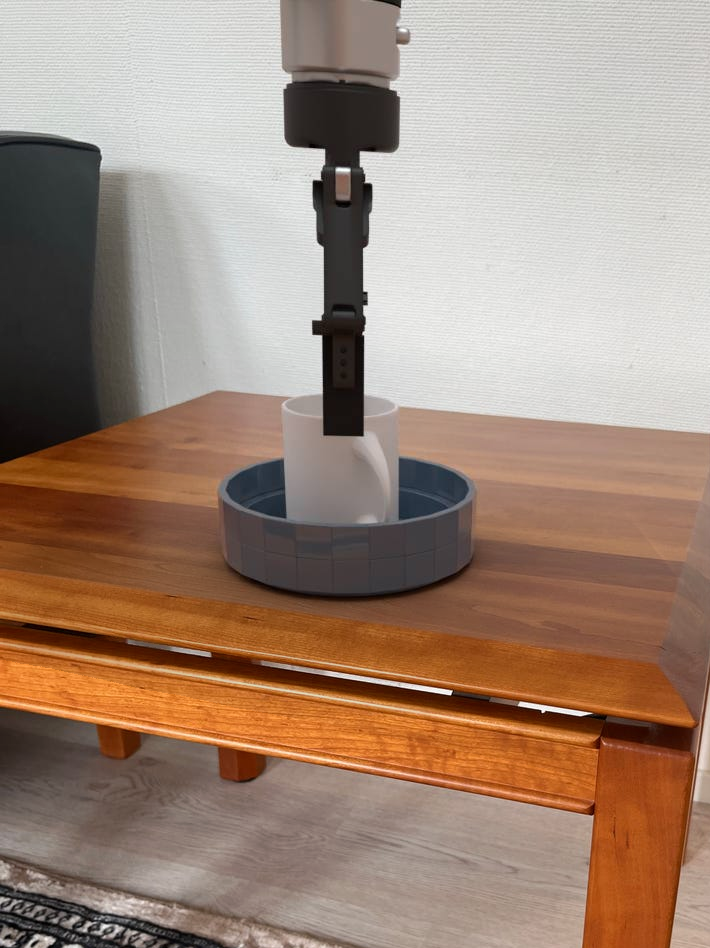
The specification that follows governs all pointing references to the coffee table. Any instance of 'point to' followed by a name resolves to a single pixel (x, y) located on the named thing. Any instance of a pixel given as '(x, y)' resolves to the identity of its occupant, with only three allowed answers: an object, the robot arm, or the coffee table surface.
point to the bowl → (349, 534)
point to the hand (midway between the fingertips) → (343, 412)
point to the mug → (341, 464)
